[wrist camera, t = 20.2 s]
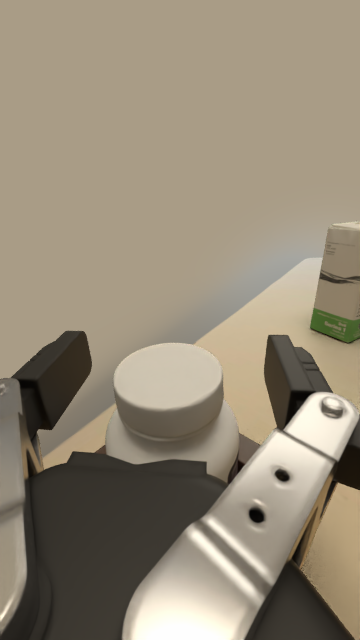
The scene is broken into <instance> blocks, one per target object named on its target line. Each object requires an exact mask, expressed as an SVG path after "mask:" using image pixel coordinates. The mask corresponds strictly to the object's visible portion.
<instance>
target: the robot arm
mask: <svg viewBox="0 0 360 640" xmlns="http://www.w3.org/2000/svg"><path fill="white" fill-rule="evenodd" d="M91 367H92V361H91V356H90V351H89V346H88V341H87V336H86V334H85V332H84V331H65V332H64V333H63V334H62V335H61V336H60V337H59V338H58V339H57V340H56V341H54V342H52V343H50V344H48V345H47V346H45V347H43V348H42V349H41V350H40V351H39V352H38V353H37V354H36V355H35V356H34V357H32V358H31V359H30V361H28V362H27V363H26V364H25V365H24V366H23V367H22V368H21V369H20V370H18V371H17V372H16V373H15V374H14V375H13V376H12V377H11V378H3V379H0V640H355V639H354V638H353V637H352V635H351V634H350V633H349V631H348V630H347V629H346V628H345V626H344V625H343V624H342V622H341V621H340V620H339V619H338V617H337V616H336V615H335V613H334V612H333V611H332V610H331V608H330V607H329V606H328V604H327V603H326V602H325V601H324V599H323V598H322V597H321V595H320V594H319V593H318V592H317V590H316V589H315V588H314V586H313V585H312V584H311V583H310V581H309V580H308V579H307V577H306V576H305V575H304V574H303V572H302V571H301V568H302V566H303V564H304V561H305V559H306V557H307V554H308V552H309V549H310V547H311V544H312V541H313V539H314V536H315V534H316V531H317V529H318V526H319V524H320V522H321V520H322V518H323V515H324V513H325V511H326V509H327V506H328V504H329V502H330V500H331V498H332V495H333V493H334V491H335V489H336V486H337V484H338V483H341V484H344V485H347V486H349V487H352V488H355V489H358V490H360V414H359V411H358V409H357V408H356V406H355V405H354V404H353V403H352V402H350V401H349V400H348V399H346V398H344V397H342V396H340V395H337V394H334V393H333V392H332V390H331V388H330V387H329V385H328V383H327V381H326V380H325V378H324V376H323V374H322V373H321V371H319V368H318V366H317V364H316V362H315V361H314V359H313V357H312V356H311V354H310V353H308V352H307V351H306V350H304V349H303V348H302V347H294V346H293V344H292V342H291V340H290V338H289V336H288V335H269V336H268V340H267V348H266V357H265V365H264V377H265V383H266V386H267V390H268V394H269V398H270V402H271V405H272V409H273V413H274V417H275V421H276V424H277V428H275V429H274V430H273V431H272V432H271V433H270V435H269V436H268V437H267V438H266V440H265V441H264V442H263V443H262V445H261V446H260V447H259V448H258V450H257V451H256V452H255V453H254V454H253V456H252V457H251V458H250V459H249V461H248V462H247V463H246V464H245V466H244V467H243V468H242V469H241V471H240V472H239V473H238V474H237V476H236V477H235V478H234V479H233V481H232V482H231V483H230V484H228V483H226V482H225V481H223V480H221V479H219V478H217V477H215V476H213V475H210V474H207V462H206V461H192V460H179V459H169V460H163V461H156V462H150V463H144V464H132V463H129V462H126V461H123V460H120V459H118V458H115V457H112V456H109V455H106V454H100V453H87V452H74V451H73V452H72V454H71V456H70V458H69V459H68V461H67V463H64V464H60V465H56V466H53V467H50V468H48V469H45V470H44V467H43V461H42V455H41V448H40V442H39V437H38V435H37V431H38V429H44V430H52V429H53V427H54V426H55V424H56V423H57V422H58V420H59V419H60V417H61V416H62V414H63V413H64V411H65V410H66V408H67V407H68V405H69V404H70V402H71V401H72V399H73V398H74V396H75V395H76V393H77V392H78V390H79V389H80V387H81V386H82V384H83V383H84V382H85V380H86V379H87V377H88V375H89V374H90V372H91Z"/></svg>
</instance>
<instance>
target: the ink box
mask: <svg viewBox="0 0 360 640" xmlns="http://www.w3.org/2000/svg"><path fill="white" fill-rule="evenodd" d="M310 328H312V329H314V330H317V331H319V332H322V333H324V334H327V335H329V336H332V337H334V338H337V339H340V340H342V341H344V342H347V343H349V342H351V341H353V340H356V339H358V338H360V221H357V222H348V223H340V224H332V226H330V227H329V228H328V233H327V238H326V244H325V250H324V255H323V260H322V266H321V271H320V277H319V282H318V288H317V293H316V298H315V304H314V309H313V314H312V320H311V325H310Z"/></svg>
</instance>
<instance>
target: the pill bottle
mask: <svg viewBox="0 0 360 640" xmlns="http://www.w3.org/2000/svg"><path fill="white" fill-rule="evenodd" d="M113 386H114V392H115V400H116V405H117V409H116V410H115V412H114V413H113V415H112V417H111V419H110V421H109V424H108V427H107V431H106V438H105V447H106V454H107V455H109V456H112V457H115V458H118V459H120V460H123V461H126V462H129V463H132V464H144V463H150V462H156V461H163V460H169V459H179V460H192V461H206V462H207V474H210V475H213V476H215V477H217V478H219V479H221V480H223V481H225V482H226V483H228V484H230V483H231V482H232V481H233V479H234V478H235V477H236V476H237V468H238V455H239V429H238V424H237V420H236V417H235V415H234V413H233V411H232V409H231V407H230V406H229V405H228V403H227V402H226V401H225V400H224V399H223V398H224V392H223V369H222V366H221V364H220V362H219V360H218V359H217V358H216V357H215V356H214V355H213V354H212V353H210V352H209V351H207V350H205V349H203V348H200V347H198V346H194V345H189V344H184V343H163V344H157V345H153V346H149V347H146V348H143V349H140V350H138V351H136V352H134V353H133V354H131V355H129V356H128V357H126V358H125V359H124V360H123V361H122V362H121V363H120V364H119V365H118V367H117V369H116V370H115V373H114V377H113Z"/></svg>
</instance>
